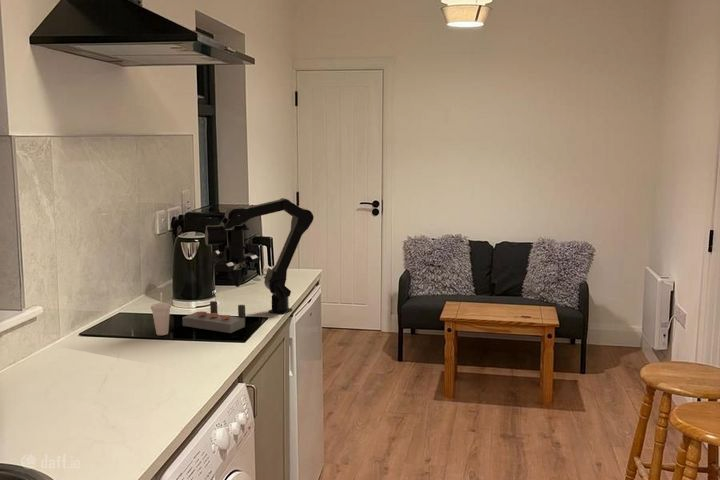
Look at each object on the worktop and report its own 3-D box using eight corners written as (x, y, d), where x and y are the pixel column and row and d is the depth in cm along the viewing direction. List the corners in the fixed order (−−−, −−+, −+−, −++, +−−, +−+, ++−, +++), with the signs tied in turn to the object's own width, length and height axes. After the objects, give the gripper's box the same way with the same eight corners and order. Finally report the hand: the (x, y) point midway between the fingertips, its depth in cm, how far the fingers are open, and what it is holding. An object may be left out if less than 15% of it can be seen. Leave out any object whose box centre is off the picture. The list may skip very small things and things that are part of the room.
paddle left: (201, 314, 245) (202, 311, 245) (206, 314, 244) (206, 312, 244) (196, 314, 243) (196, 311, 243) (201, 315, 242) (201, 312, 242)
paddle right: (225, 317, 241) (225, 314, 241) (230, 318, 240) (230, 315, 240) (220, 318, 238) (220, 315, 238) (225, 318, 237) (225, 315, 237)
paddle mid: (213, 315, 243) (213, 313, 243) (218, 316, 242) (218, 313, 242) (208, 316, 240) (208, 313, 240) (213, 317, 240) (213, 314, 240)
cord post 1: (213, 317, 253) (213, 300, 252) (219, 318, 252) (218, 301, 251) (209, 318, 251) (208, 302, 250) (214, 319, 250) (214, 303, 249)
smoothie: (160, 337, 229) (158, 295, 227) (148, 334, 233) (145, 292, 231) (176, 333, 234) (174, 291, 232) (164, 329, 238) (161, 288, 236)
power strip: (198, 319, 250) (197, 311, 249) (244, 326, 241) (244, 318, 240) (182, 325, 243) (182, 317, 242) (230, 333, 234) (230, 324, 233)
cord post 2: (241, 321, 248) (240, 304, 247) (247, 322, 247) (246, 305, 246) (237, 322, 246) (236, 306, 245) (242, 323, 245) (242, 306, 244)
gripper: (233, 237, 262) (234, 279, 264) (200, 245, 245) (202, 290, 248) (258, 239, 257) (259, 282, 259) (226, 248, 240) (228, 293, 243)
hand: (237, 286), depth 252 cm, fingers closed
